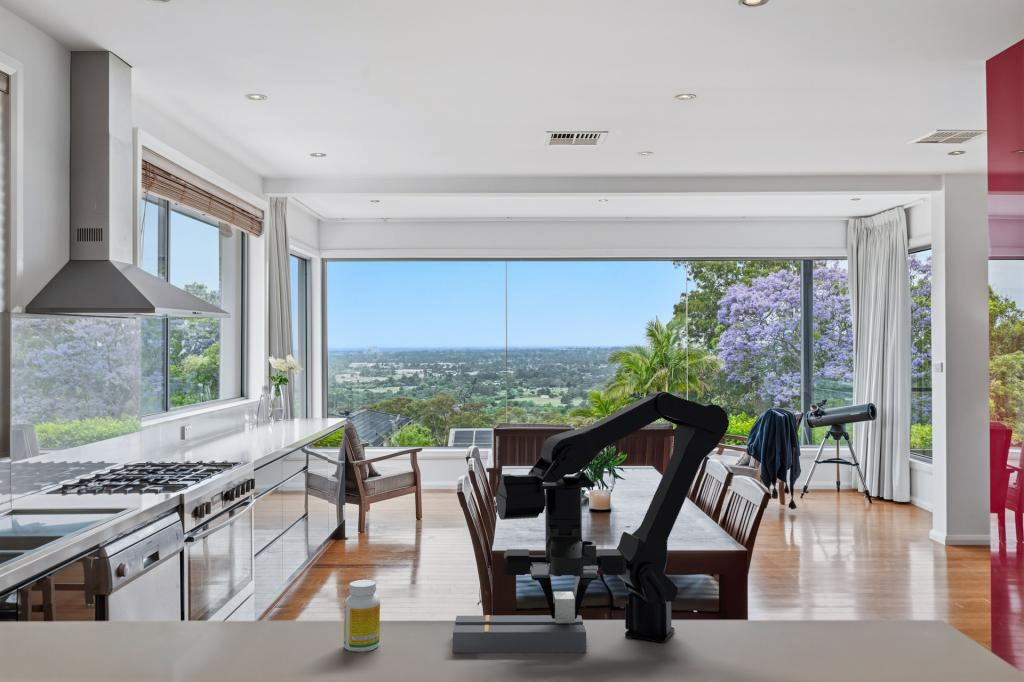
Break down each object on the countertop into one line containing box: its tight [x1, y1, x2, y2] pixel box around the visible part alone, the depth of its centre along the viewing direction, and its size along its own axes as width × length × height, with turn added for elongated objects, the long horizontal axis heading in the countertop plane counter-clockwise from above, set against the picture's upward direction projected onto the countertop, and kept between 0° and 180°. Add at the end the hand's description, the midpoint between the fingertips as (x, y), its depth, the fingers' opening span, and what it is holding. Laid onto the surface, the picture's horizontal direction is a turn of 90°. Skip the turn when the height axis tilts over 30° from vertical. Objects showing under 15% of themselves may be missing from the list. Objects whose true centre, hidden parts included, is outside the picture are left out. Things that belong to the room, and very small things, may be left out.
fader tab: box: [553, 591, 575, 625], centre depth 116 cm, size 3×4×6 cm
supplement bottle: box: [343, 579, 381, 653], centre depth 114 cm, size 5×5×10 cm
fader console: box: [452, 614, 587, 654], centre depth 116 cm, size 20×8×3 cm, turn 90°
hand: (564, 618), depth 116 cm, fingers closed on fader tab, 3 cm apart
